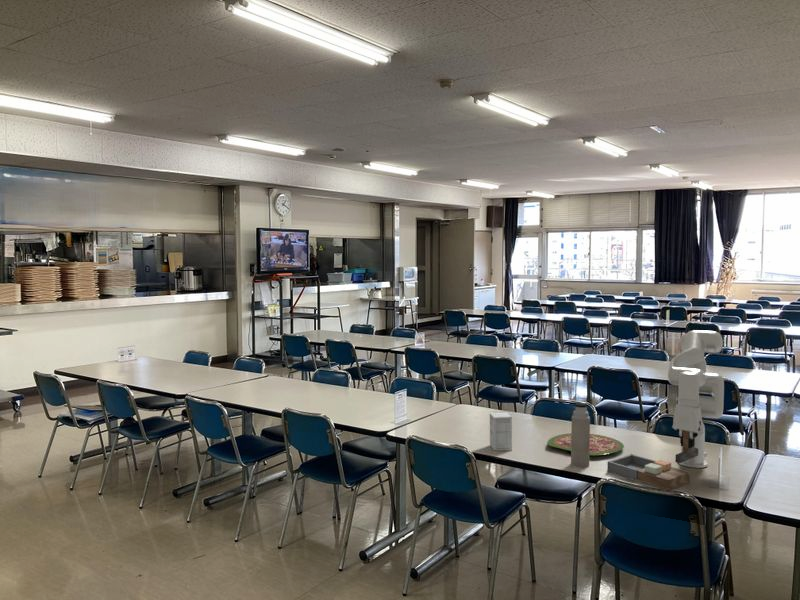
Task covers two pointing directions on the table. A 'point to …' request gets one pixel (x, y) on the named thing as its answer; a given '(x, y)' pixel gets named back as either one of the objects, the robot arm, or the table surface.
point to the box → (628, 466)
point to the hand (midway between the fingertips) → (687, 446)
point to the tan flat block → (664, 478)
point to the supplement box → (500, 431)
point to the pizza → (597, 444)
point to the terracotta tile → (663, 464)
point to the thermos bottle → (580, 437)
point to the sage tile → (653, 468)
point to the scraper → (686, 450)
